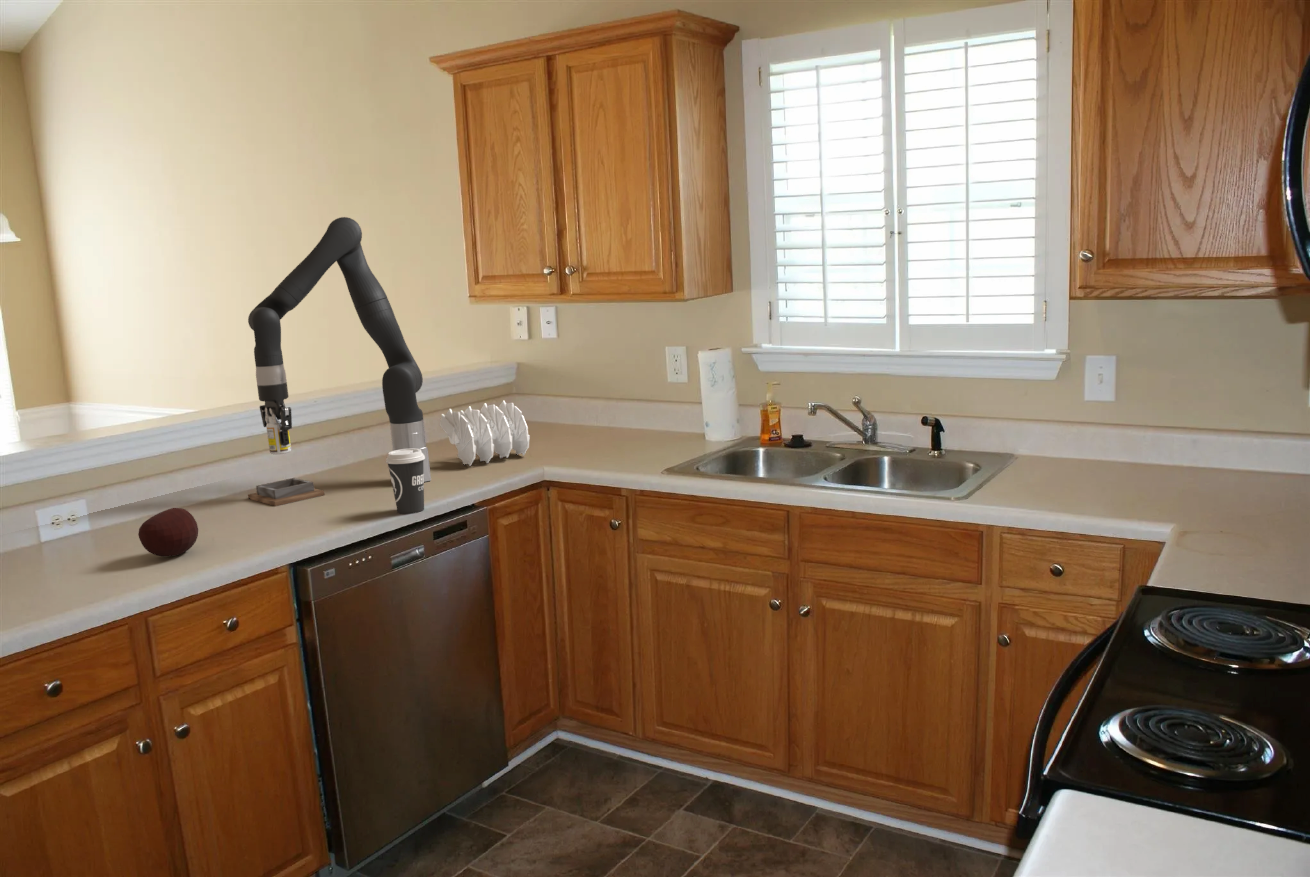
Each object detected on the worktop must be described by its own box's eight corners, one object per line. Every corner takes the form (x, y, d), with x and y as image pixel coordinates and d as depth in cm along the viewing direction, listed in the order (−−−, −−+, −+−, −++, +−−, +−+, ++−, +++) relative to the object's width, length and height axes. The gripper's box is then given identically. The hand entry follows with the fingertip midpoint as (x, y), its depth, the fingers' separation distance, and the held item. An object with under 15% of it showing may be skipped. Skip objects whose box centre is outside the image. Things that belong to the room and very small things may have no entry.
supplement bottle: (293, 450, 284) (289, 413, 282) (288, 454, 278) (283, 416, 277) (273, 451, 283) (268, 414, 282) (267, 455, 278) (262, 418, 276)
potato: (130, 563, 226) (123, 517, 224) (177, 546, 238) (170, 502, 236) (169, 566, 222) (162, 519, 220) (215, 548, 234) (208, 503, 232)
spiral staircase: (533, 468, 320) (461, 479, 305) (506, 438, 332) (434, 447, 316) (545, 417, 312) (471, 426, 297) (516, 389, 323) (444, 395, 308)
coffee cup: (410, 517, 252) (404, 456, 249) (383, 513, 257) (376, 454, 254) (438, 507, 259) (432, 448, 257) (410, 504, 265) (404, 446, 262)
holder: (324, 494, 282) (322, 482, 282) (275, 506, 272) (273, 492, 272) (296, 488, 293) (294, 475, 293) (248, 498, 284) (246, 485, 283)
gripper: (297, 381, 275) (305, 444, 278) (272, 379, 285) (280, 439, 288) (270, 385, 270) (278, 449, 273) (246, 382, 280) (254, 444, 283)
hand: (279, 443), depth 280 cm, fingers closed on supplement bottle, 5 cm apart
